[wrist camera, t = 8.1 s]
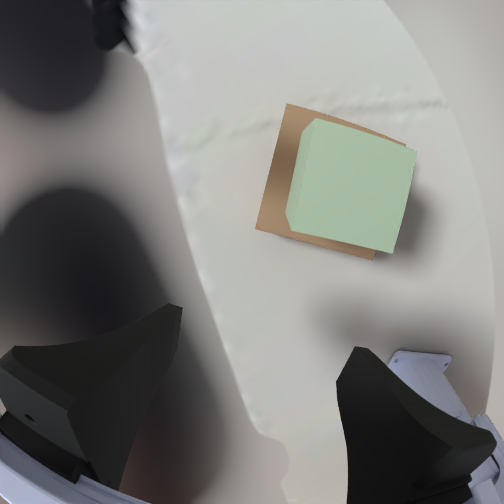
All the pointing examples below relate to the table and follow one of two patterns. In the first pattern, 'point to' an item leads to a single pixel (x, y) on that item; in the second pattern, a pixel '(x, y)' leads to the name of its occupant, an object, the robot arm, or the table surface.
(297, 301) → the table surface
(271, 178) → the walnut block
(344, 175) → the sage cube
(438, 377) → the robot arm
